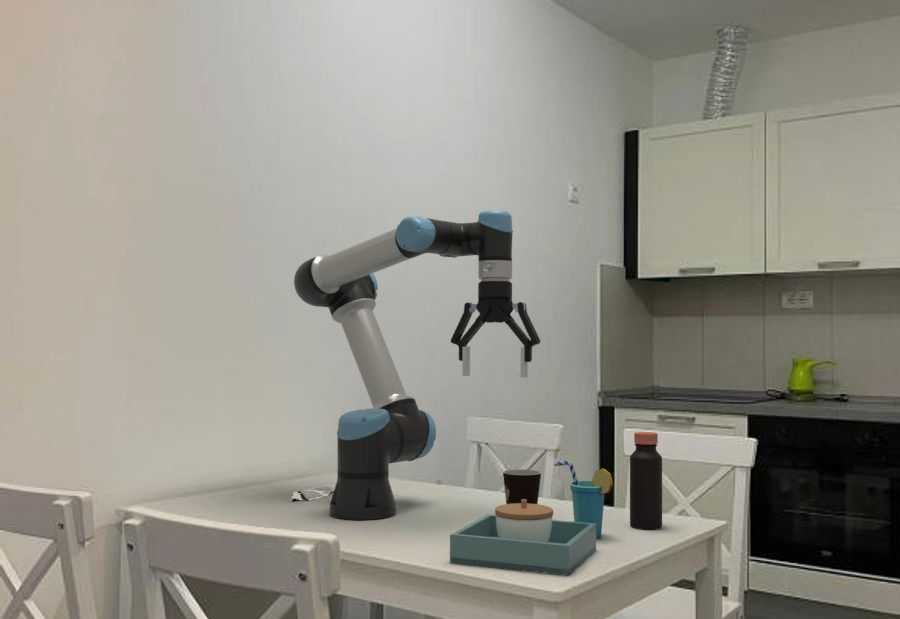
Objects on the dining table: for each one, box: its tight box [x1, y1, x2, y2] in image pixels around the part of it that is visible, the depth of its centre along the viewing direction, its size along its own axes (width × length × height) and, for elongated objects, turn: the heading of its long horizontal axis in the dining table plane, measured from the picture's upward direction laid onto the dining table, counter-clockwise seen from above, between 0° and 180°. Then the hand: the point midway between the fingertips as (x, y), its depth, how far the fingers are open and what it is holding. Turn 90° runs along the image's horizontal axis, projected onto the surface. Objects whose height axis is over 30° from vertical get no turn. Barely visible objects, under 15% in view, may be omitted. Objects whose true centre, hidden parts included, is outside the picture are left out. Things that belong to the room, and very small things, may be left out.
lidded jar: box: [494, 499, 554, 542], centre depth 168 cm, size 11×11×9 cm
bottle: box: [629, 431, 663, 531], centre depth 194 cm, size 7×7×20 cm
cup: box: [553, 460, 614, 540], centre depth 185 cm, size 14×8×15 cm, turn 53°
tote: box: [449, 514, 597, 576], centre depth 168 cm, size 22×20×5 cm
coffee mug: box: [502, 468, 542, 504], centre depth 206 cm, size 12×9×10 cm
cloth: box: [290, 484, 336, 501], centre depth 232 cm, size 26×14×2 cm, turn 145°
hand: (494, 376), depth 200 cm, fingers open, 13 cm apart
